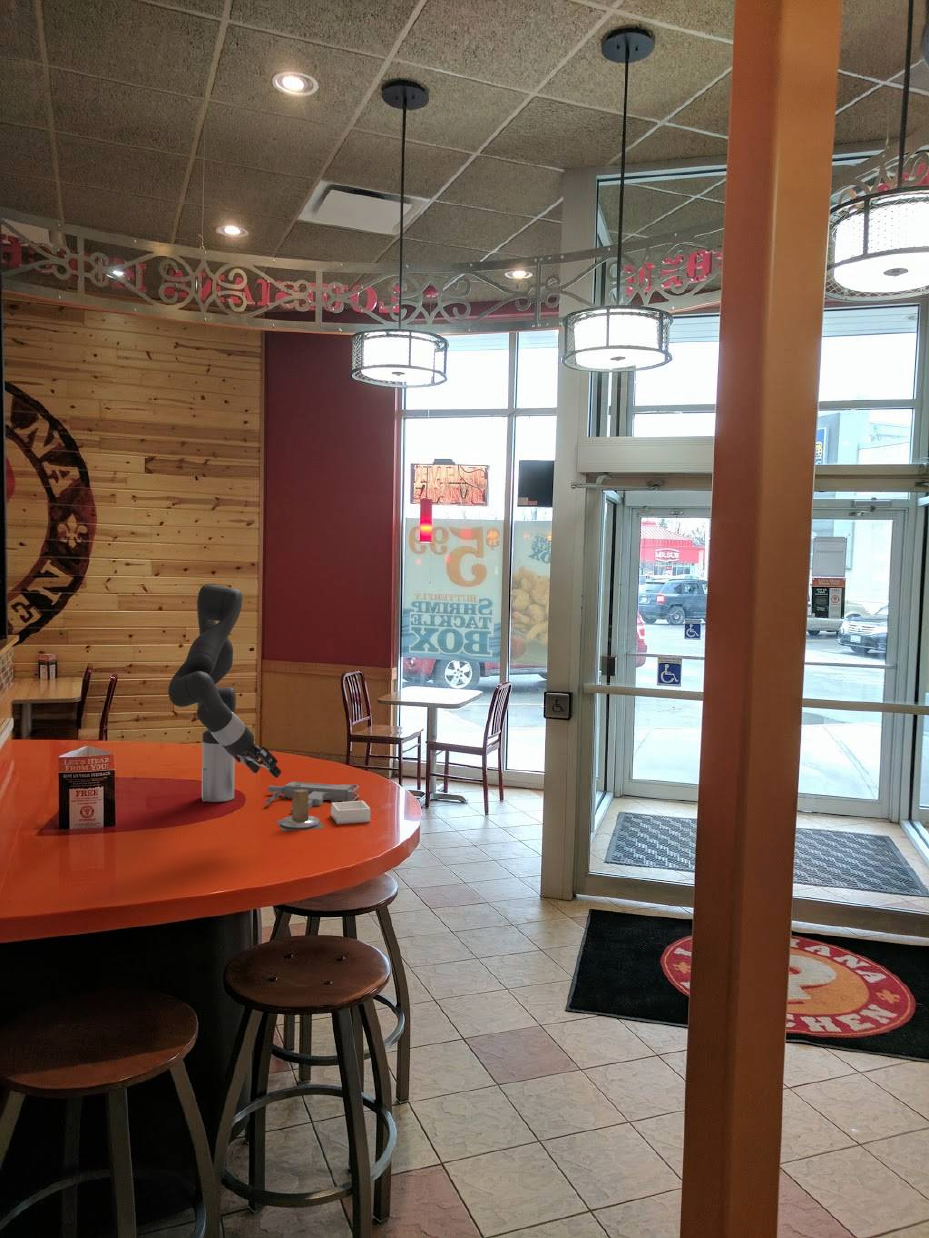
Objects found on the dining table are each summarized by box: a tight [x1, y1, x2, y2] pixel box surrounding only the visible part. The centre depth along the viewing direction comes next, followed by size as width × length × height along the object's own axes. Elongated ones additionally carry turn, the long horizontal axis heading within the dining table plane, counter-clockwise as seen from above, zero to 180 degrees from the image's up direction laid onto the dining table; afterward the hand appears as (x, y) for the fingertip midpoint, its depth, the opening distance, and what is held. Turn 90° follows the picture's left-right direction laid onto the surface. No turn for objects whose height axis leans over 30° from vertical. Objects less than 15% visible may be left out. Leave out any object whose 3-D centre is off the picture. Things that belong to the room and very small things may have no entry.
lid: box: [280, 789, 320, 830], centre depth 239 cm, size 10×10×9 cm
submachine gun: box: [264, 781, 360, 815], centre depth 263 cm, size 4×28×25 cm
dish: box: [330, 800, 371, 825], centre depth 246 cm, size 9×9×4 cm
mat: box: [276, 819, 325, 832], centre depth 240 cm, size 11×11×1 cm
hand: (267, 772), depth 231 cm, fingers open, 8 cm apart
